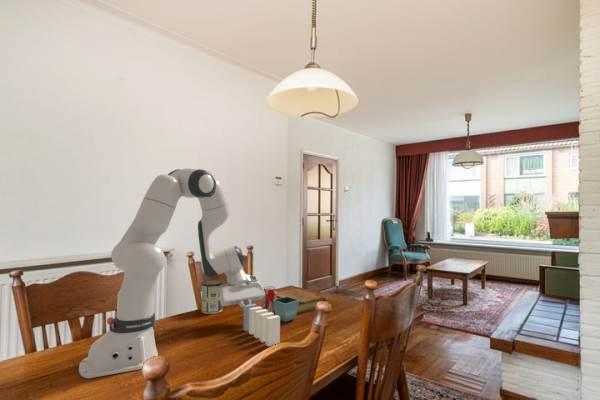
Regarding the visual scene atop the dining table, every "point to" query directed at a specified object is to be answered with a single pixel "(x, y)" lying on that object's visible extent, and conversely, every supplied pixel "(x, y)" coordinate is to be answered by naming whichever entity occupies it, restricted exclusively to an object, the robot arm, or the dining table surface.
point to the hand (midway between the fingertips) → (248, 310)
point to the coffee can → (211, 297)
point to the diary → (302, 299)
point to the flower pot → (286, 308)
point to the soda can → (269, 298)
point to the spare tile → (247, 315)
